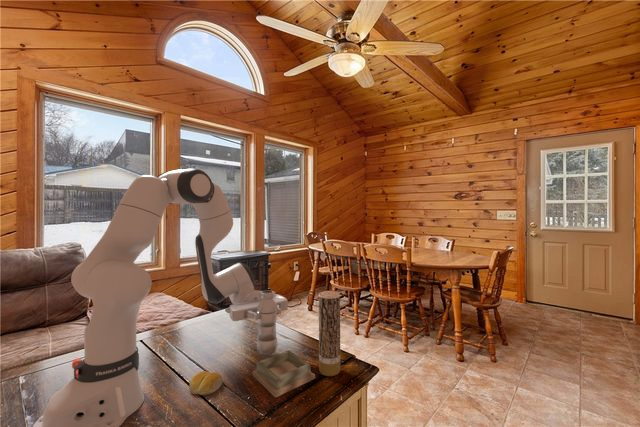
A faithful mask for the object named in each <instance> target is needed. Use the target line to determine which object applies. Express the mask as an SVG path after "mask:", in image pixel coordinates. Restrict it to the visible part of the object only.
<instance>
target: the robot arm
mask: <svg viewBox="0 0 640 427" xmlns="http://www.w3.org/2000/svg"><path fill="white" fill-rule="evenodd" d="M169 205H181V206H182V205H183V206H184V205H192V206H193V208H194V210H195V212H196V215H197V219H198V221H199V232H198V234H197V235H196V236H195V241H194V243H195V250H196V251H195V252H196V257H197V263H198V264H197V266H198V271H199V277H200V284H201V286H200V288H201V293H202V296H203V298H204V299H205V301H206V302H208V303H212V304H219V303H221V302H222V301H224V300H225V299H226V298H229V300H230V302H231V303H232V304H230V305H229V307H228V308H225V310H224V311H225V313H226V314H228V315H229V318H230V320H231V322H232V321H233V322H240V321H244V320H248V319H251V320H254V321H257V320H259V319H260V314H259V313H258V312H257V308H258V305H259V303H260V302H261V300H262V298H261V296H262V294H261V293H262V291H263V290H256V289H254V288H255V286H256V279H255V275H254V272H253V270H252V269H251V268H250V267H249V265H247V264H245V263H242V262H237V263H235V264H233V265H230V266H229V267H227V268H225V269H223V270H220V271H218V272H217V273H214V268H213V262H212V253H213V250H214V249H215V248H216V247H217V246H218V245H219V243H220V242H222V241H223V240H224V239H225V238H226V237H227V236H228V235H229V234H230V232H231V230H232V229H233V226H234V218H233V214H232V210H231V207H230V205H229V203H228V200H227V197H226V196H225V194H224V191H223V189H221V187H220V186H219V185H218V184H216V183H213V181H212V178H210V176H209V175H208V174H207V173H206V172H205V171H204V170H201V169H198V168H186V169H184V168H183V169H182V168H181V169H178V168H177V169H174V170H170V171H165V172H162V173H159V175H157V176H154V175H147V174H144V175H143V174H142V175H139V176H138V177H136V178H135V179H134V180H133V181H132V182H131V184H130V185H129V187H128V188H127V189H126V191H125V193H124V194H123V196H122V198H121V200H120V202H119V203H118V205H117V207H116V209H115V212H114V214H113V216H112V218H111V220H110V222H109V224H108V226H107V228H106V229H105V232H104V233H103V235H102V236H101V238H100V239H99V241H98V242H97V243H96V245H95V246H94V248H92V250H91V251H90V252H89V254H88V255H87V257H86V258H85V259H84V260H83V261H82V262H81V263H79V264H78V265H77V266H75V268H74V269H73V271H72V273H71V277H70V279H71V281H70V282H71V285H72V287H73V288H74V290H75V291H76V292H77V293H78V295H80V296H82V297H84V298H86V299H89V300H91V301H92V313H91V317H90V319H89V322H88V324H87V326H85V328H84V331H83V338H84V340H83V344H84V345H83V347H84V348H83V350H84V352H83V353H84V358H83V359H81V358H79V357H78V358H75V359H73V361H72V363H71V368H72V369H73V378H72V379H71V380H70V381H68V382H67V383H65V385H64V386H63V387H61V388H60V389H59V390H57V391H56V392H55V393H54V394H53V395H52V396H51V398H50V399H49V400H48V402H47V404H46V407H45V409H44V412H43V414H42V415H41V416H40V417H39V418H38V419H37V420H36V421H35V422H34V424H33V426H32V427H121V425H123V424H124V422H125V420H127V418H128V417H129V416H131V415H132V414H133V413H135V412H136V411H137V410H139V409H140V407H141V406H142V405H143V403H144V401H145V395H144V392H143V388H142V386H141V382H140V377H139V366H140V351H139V347H138V346H137V321H138V316H139V311H140V308H141V306H142V305H141V304H142V302H143V301H144V299H145V298H146V297H147V296H148V295H149V293H150V291H151V289H152V284H153V282H152V278H151V275H150V273H149V271H147V270H146V269H145V268H143V267H141V266H140V265H139V264H137V263H135V261H136V260H137V259H138V257H139V256H140V255H141V254H142V253H143V252H144V250H146V249H147V248H149V247H150V246H151V245H152V243H153V241H154V238H155V235H156V233H157V231H158V229H159V225H160V223H161V221H162V219H163V215H164V213H165V211H166V209H167V207H168V206H169ZM272 291H273V300H274V301H275V302H276V304H277V307H278V309H277V316H278V315H281V314H282V312H284V311H287V309H288V308H289V305H288V304H289V301H288V299H287V298H286V297H285V296H283V295H281V294H276V291H274V290H272ZM40 421H41V422H40Z"/></svg>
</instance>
